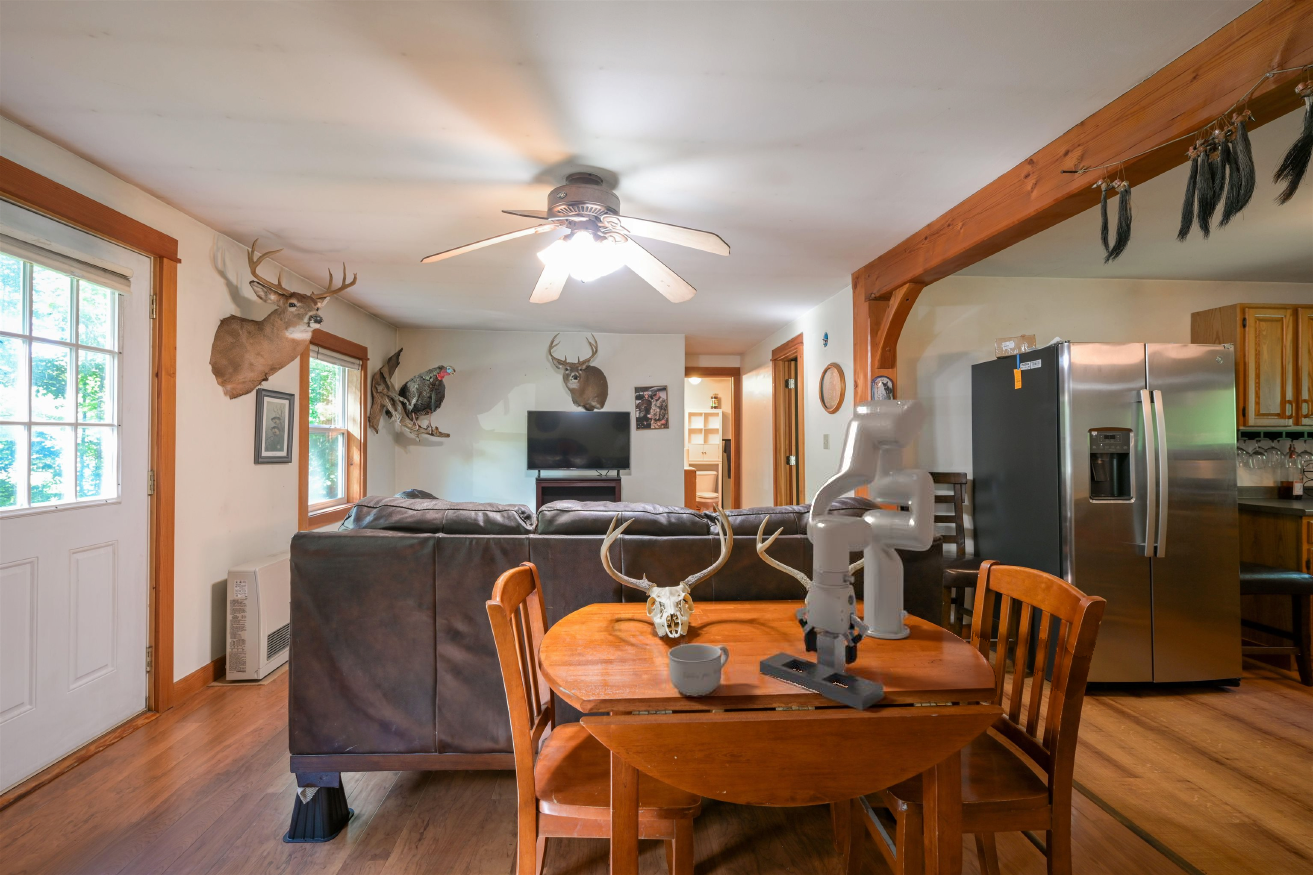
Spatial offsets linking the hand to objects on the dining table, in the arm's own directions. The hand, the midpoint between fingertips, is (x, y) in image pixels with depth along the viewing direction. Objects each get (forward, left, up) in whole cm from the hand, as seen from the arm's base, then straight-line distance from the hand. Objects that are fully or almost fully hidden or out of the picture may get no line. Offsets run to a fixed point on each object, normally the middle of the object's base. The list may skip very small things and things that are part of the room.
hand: (830, 656), depth 131 cm
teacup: (+27, -13, -4) cm, 30 cm away
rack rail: (+8, +2, -3) cm, 8 cm away
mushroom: (-10, -9, -4) cm, 14 cm away
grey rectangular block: (0, 0, -3) cm, 3 cm away
